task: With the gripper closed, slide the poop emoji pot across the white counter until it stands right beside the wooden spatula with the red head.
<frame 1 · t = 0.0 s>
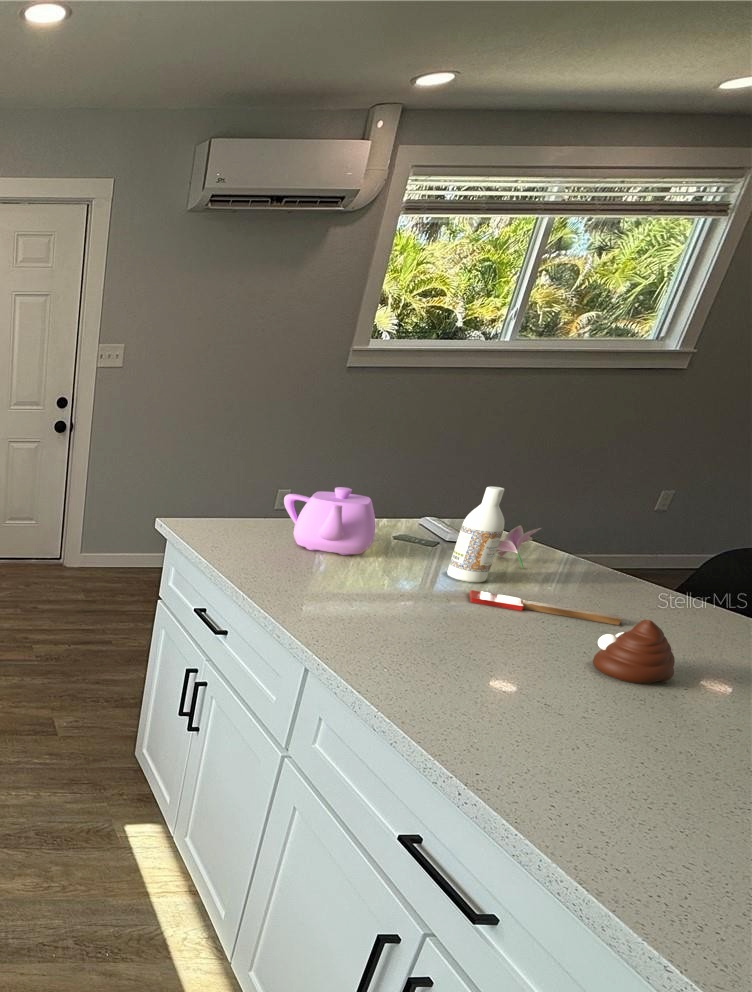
bath foam: (465, 578, 139), on the counter
lily: (503, 563, 148), on the counter
teapot: (329, 548, 159), on the counter
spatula: (553, 612, 122), on the counter
poop emoji: (627, 673, 101), on the counter
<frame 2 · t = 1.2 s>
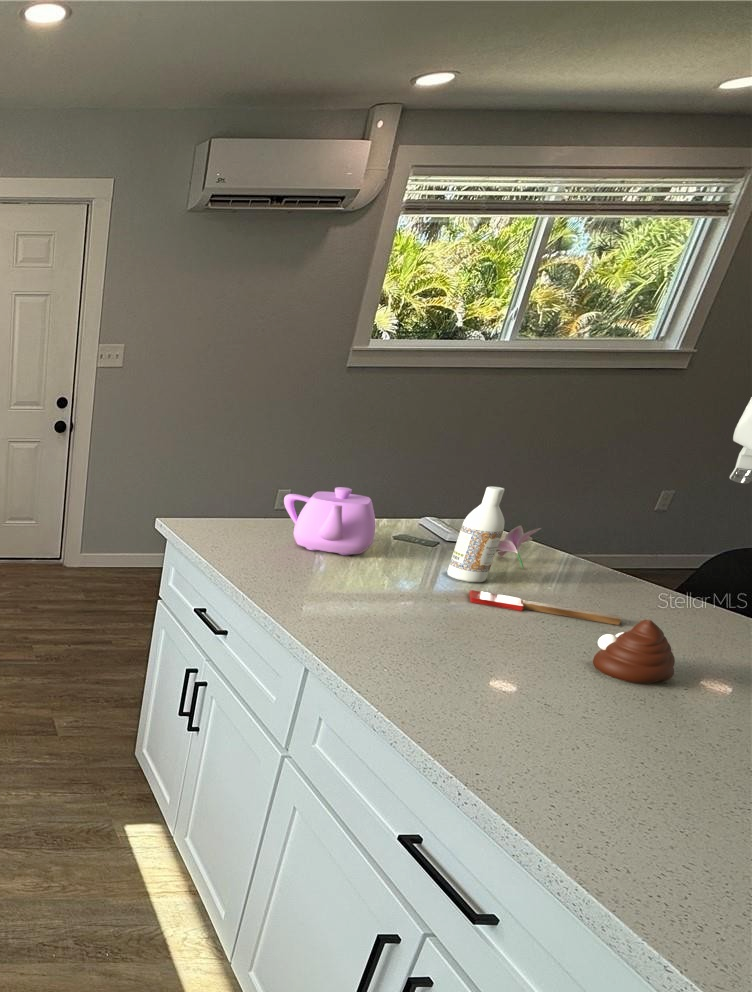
hand: (749, 489, 85), 30 cm above the counter, tool pointing down, fingers open, 8 cm apart
nothing on the counter moved.
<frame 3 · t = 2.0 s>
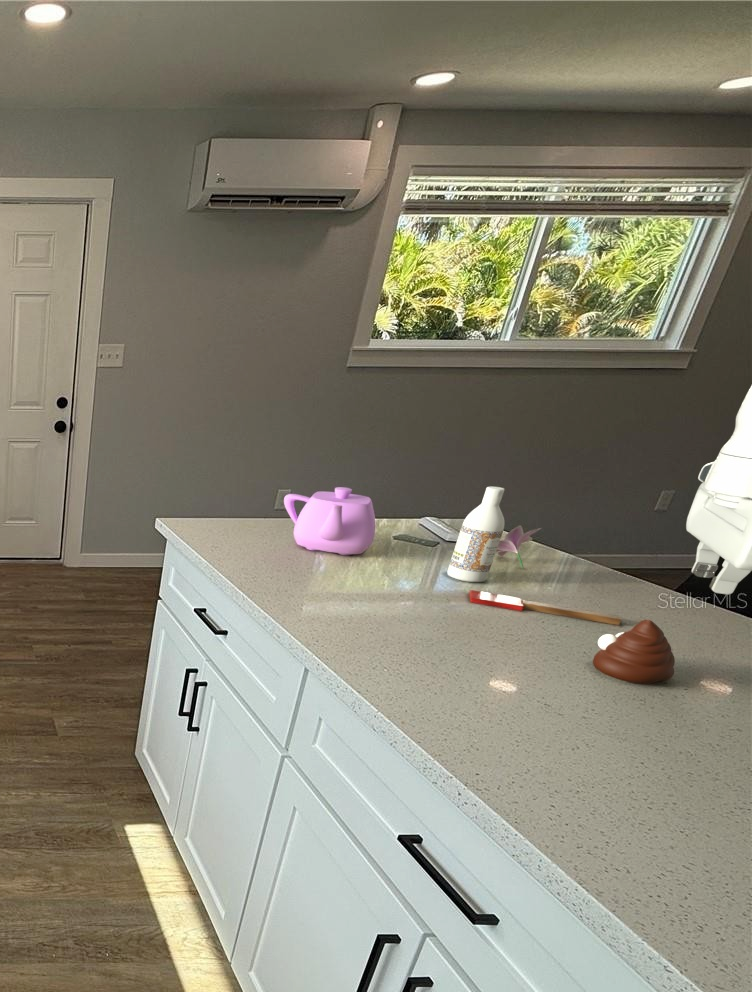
hand: (710, 583, 84), 19 cm above the counter, tool pointing down, fingers open, 5 cm apart
nothing on the counter moved.
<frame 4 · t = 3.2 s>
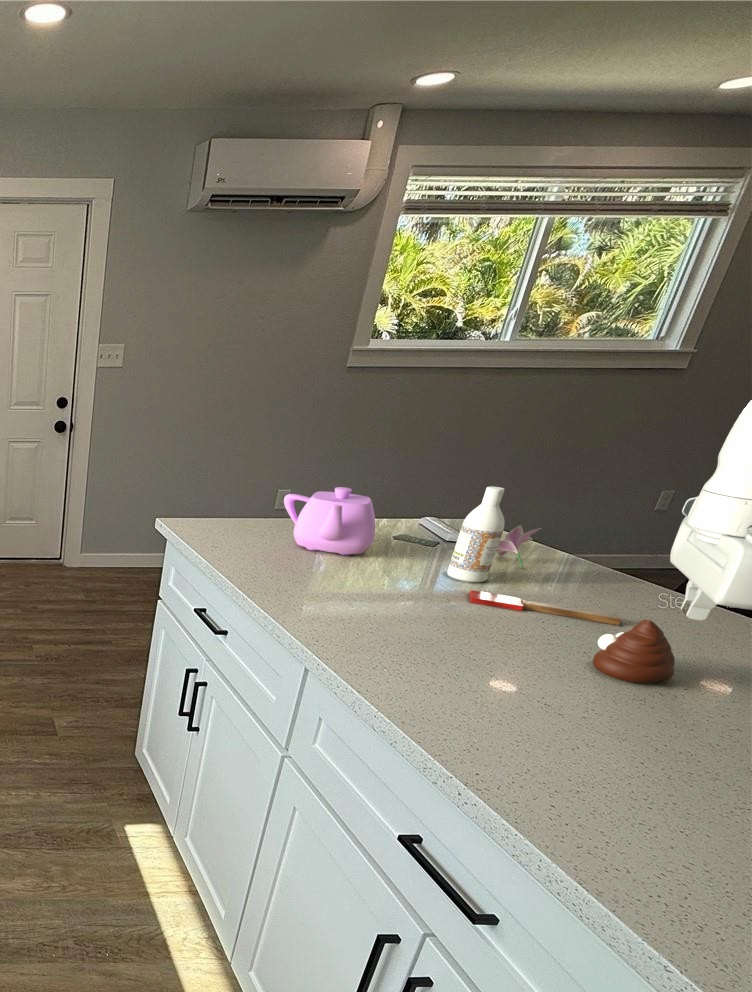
hand: (691, 616, 86), 14 cm above the counter, tool pointing down, fingers closed
nothing on the counter moved.
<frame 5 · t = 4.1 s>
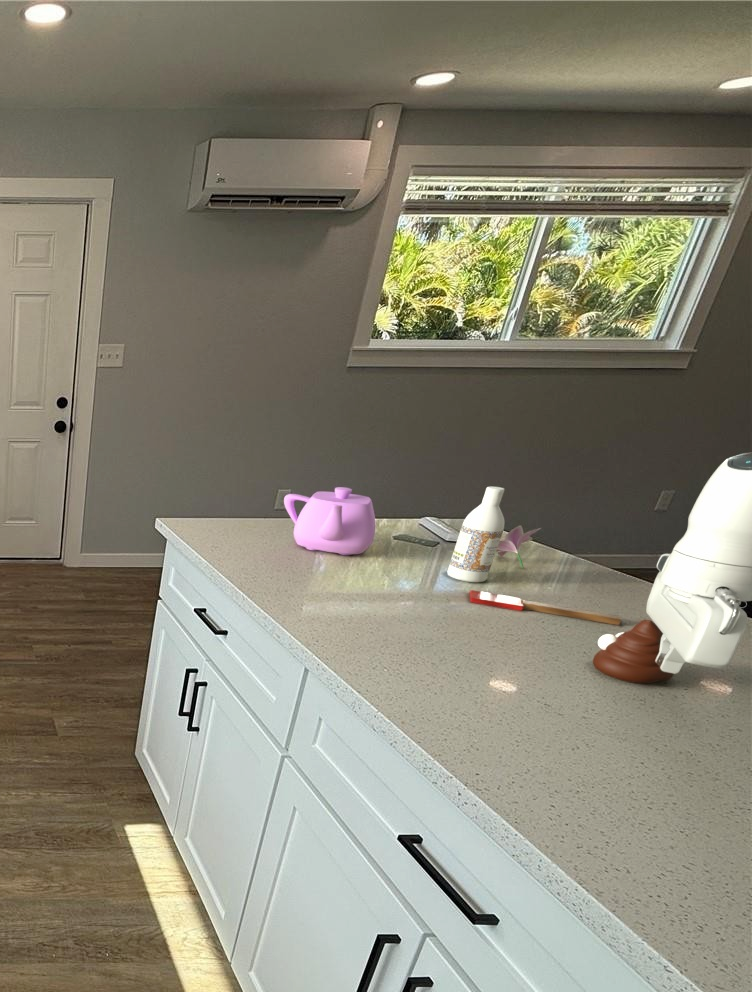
hand: (665, 668, 89), 6 cm above the counter, tool pointing down, fingers closed
nothing on the counter moved.
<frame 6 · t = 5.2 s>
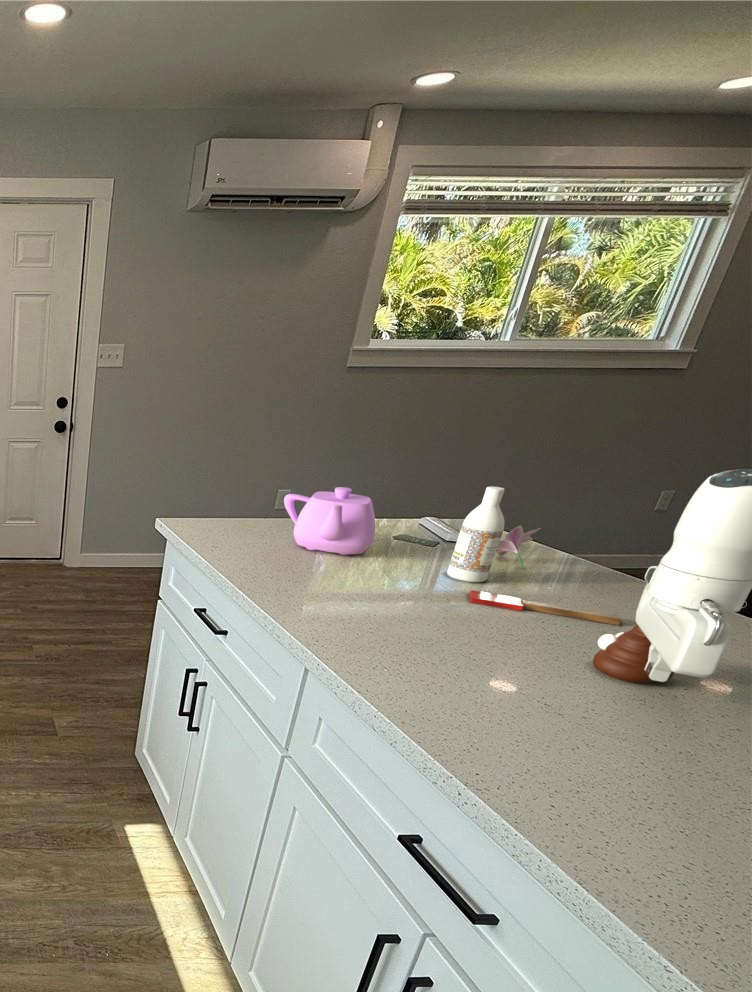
hand: (654, 676, 92), 4 cm above the counter, tool pointing down, fingers closed
nothing on the counter moved.
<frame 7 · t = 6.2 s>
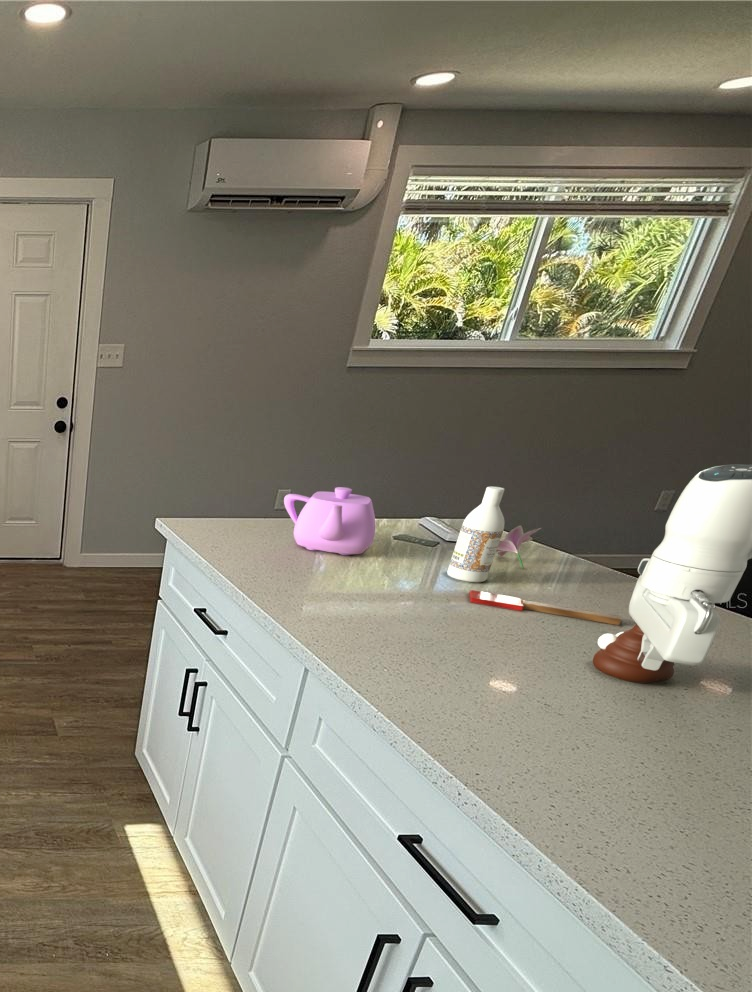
hand: (646, 665, 95), 4 cm above the counter, tool pointing down, fingers closed
poop emoji: (627, 673, 101), on the counter, touching gripper
everything else where it was.
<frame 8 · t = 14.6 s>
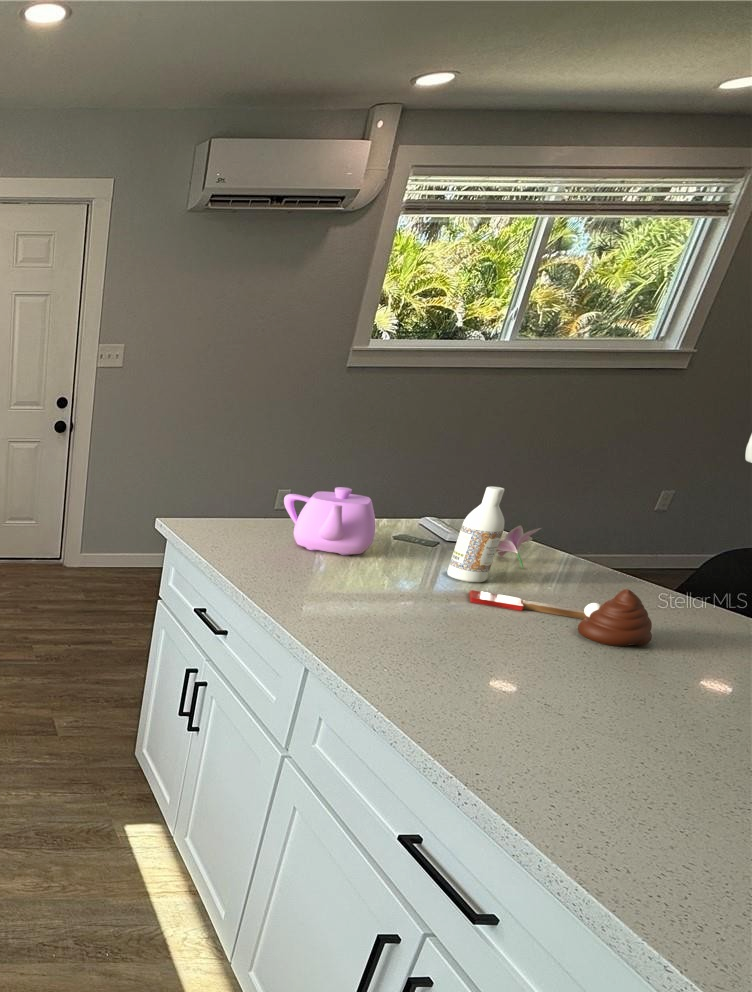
poop emoji: (609, 639, 112), on the counter
everything else where it was.
at the end: poop emoji inside the target area on the counter beside the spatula (2.5 cm from its centre), on the counter; poop emoji tilted 0°; poop emoji moved 15.1 cm from its start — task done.
